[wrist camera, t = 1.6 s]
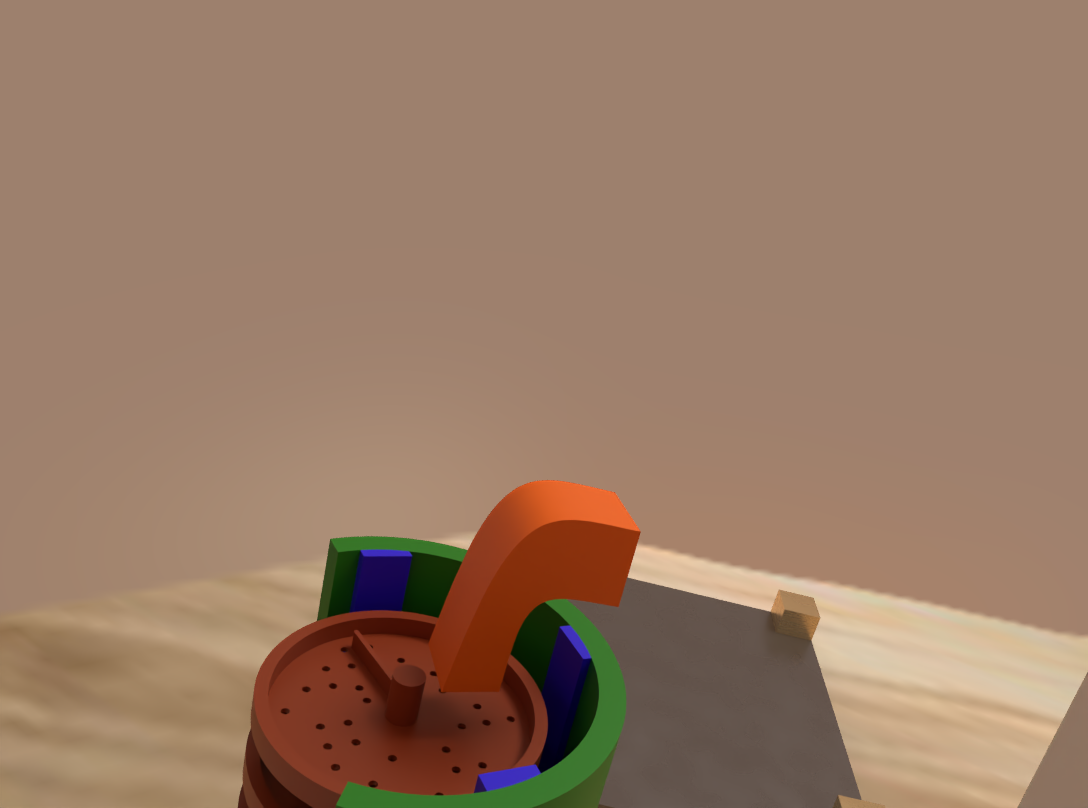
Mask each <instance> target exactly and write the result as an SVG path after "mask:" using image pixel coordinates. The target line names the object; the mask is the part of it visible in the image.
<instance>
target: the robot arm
mask: <svg viewBox="0 0 1088 808" xmlns="http://www.w3.org/2000/svg"><path fill="white" fill-rule="evenodd" d="M1018 808H1088V672H1087V674H1086V676H1085V678H1084V680H1083V682H1082V684H1081V686H1080V688H1079V690H1078V692H1077V694H1076V696H1075V697H1074V699H1073V701H1072V703H1071V705H1070V707H1069V709H1068V711H1067V713H1066V715H1065V717H1064V719H1063V721H1062V723H1061V724H1060V726H1059V728H1058V730H1057V732H1056V734H1055V736H1054V738H1053V740H1052V742H1051V744H1050V746H1049V748H1048V750H1047V752H1046V753H1045V755H1044V757H1043V759H1042V761H1041V763H1040V765H1039V767H1038V769H1037V771H1036V773H1035V775H1034V777H1033V779H1032V780H1031V782H1030V784H1029V786H1028V788H1027V790H1026V792H1025V794H1024V796H1023V798H1022V800H1021V802H1020V804H1019V806H1018Z"/></svg>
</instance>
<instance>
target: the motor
mask: <svg viewBox="0 0 1088 808" xmlns="http://www.w3.org/2000/svg"><path fill="white" fill-rule="evenodd" d="M639 536H640V530H639V528H638V527H637V525H636V524H635V522H634V521H633V519H632V518H631V516H630V515H629V513H628V512H627V511H626V509H625V507H624V506H623V504H622V503H621V501H620V500H619V498H618V497H617V495H616V494H615V492H611V491H606V490H602V489H598V488H593V487H589V486H584V485H580V484H575V483H570V482H564V481H554V480H542V481H534V482H530V483H527V484H524V485H522V486H520V487H518V488H516V489H515V490H513V491H512V492H510V493H509V494H508V495H507V496H505V497H504V498H503V499H502V500H501V501H500V502H499V503H498V504H497V506H496V507H495V508H494V509H493V510H492V511H491V513H490V514H489V516H488V517H487V518H486V520H485V521H484V523H483V524H482V526H481V528H480V529H479V531H478V532H477V534H476V536H475V538H474V539H473V541H472V543H471V545H470V547H469V549H468V550H465V549H461V548H457V547H453V546H449V545H445V544H440V543H435V542H429V541H423V540H416V539H407V538H395V537H373V536H371V537H369V536H367V537H344V538H335V539H330V544H329V550H328V556H327V563H326V569H325V575H324V581H323V587H322V593H321V599H320V606H319V612H318V618H317V621H316V622H314V623H311V624H309V625H307V626H305V627H303V628H301V629H299V630H297V631H296V632H294V633H292V634H291V635H289V636H288V637H286V638H285V639H284V640H283V641H281V642H280V643H279V644H278V645H277V646H276V647H275V648H274V649H273V650H272V651H271V652H270V654H269V655H268V656H267V658H266V659H265V661H264V662H263V664H262V666H261V668H260V670H259V672H258V675H257V678H256V682H255V688H254V695H253V702H252V709H251V729H250V732H249V735H248V740H247V745H246V752H245V759H244V767H243V785H242V788H241V792H240V796H239V802H238V808H598V805H599V801H600V798H601V795H602V792H603V789H604V785H605V782H606V779H607V776H608V773H609V769H610V766H611V763H612V760H613V757H614V753H615V750H616V747H617V744H618V741H619V737H620V734H621V731H622V727H623V724H624V720H625V714H626V690H625V683H624V679H623V675H622V672H621V669H620V667H619V664H618V662H617V659H616V657H615V655H614V653H613V652H612V650H611V648H610V646H609V645H608V643H607V642H606V640H605V639H604V637H603V636H602V635H601V633H600V632H599V631H598V629H597V628H596V627H595V626H594V625H593V624H592V622H591V621H590V620H589V619H588V618H587V617H586V616H585V615H584V614H583V613H582V612H581V611H580V610H579V609H577V608H576V607H575V606H574V605H573V604H572V603H570V602H569V601H568V600H567V599H571V600H579V601H586V602H592V603H598V604H603V605H609V606H615V607H619V604H620V600H621V597H622V594H623V590H624V587H625V583H626V580H627V577H628V573H629V570H630V566H631V563H632V560H633V556H634V553H635V549H636V546H637V543H638V539H639Z"/></svg>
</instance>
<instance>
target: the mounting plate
mask: <svg viewBox="0 0 1088 808" xmlns="http://www.w3.org/2000/svg"><path fill="white" fill-rule="evenodd" d="M567 600H568V601H569V602H570V603H572V604H573V605H574V606H575V607H576V608H577V609H579V610H580V611H581V612H582V613H583V614H584V615H585V616H586V617H587V618H588V619H589V620H590V621H591V622H592V624H593V625H594V626H595V627H596V628H597V629H598V631H599V632H600V633H601V635H602V636H603V637H604V639H605V640H606V642H607V643H608V645H609V646H610V648H611V650H612V652H613V653H614V655H615V657H616V659H617V662H618V664H619V667H620V669H621V672H622V675H623V679H624V683H625V690H626V714H625V720H624V724H623V727H622V731H621V734H620V737H619V741H618V744H617V747H616V750H615V753H614V757H613V760H612V763H611V766H610V769H609V773H608V776H607V779H606V782H605V785H604V789H603V792H602V795H601V798H600V801H599V805H598V808H885V806H884V805H880V804H876V803H871V802H867V801H863V800H861V796H860V793H859V790H858V787H857V784H856V781H855V777H854V774H853V771H852V768H851V765H850V762H849V758H848V755H847V752H846V749H845V746H844V743H843V739H842V736H841V733H840V730H839V727H838V724H837V720H836V717H835V714H834V711H833V708H832V705H831V701H830V698H829V695H828V692H827V689H826V686H825V682H824V679H823V676H822V673H821V670H820V667H819V663H818V660H817V657H816V654H815V651H814V648H813V645H812V641H811V640H812V637H813V635H814V632H815V630H816V627H817V625H818V622H819V620H820V616H819V613H818V610H817V607H816V604H815V601H814V598H812V597H807V596H803V595H799V594H795V593H791V592H786V591H782V590H779V591H778V594H777V596H776V599H775V602H774V604H773V607H772V610H771V612H769V611H765V610H760V609H756V608H752V607H748V606H744V605H739V604H735V603H731V602H727V601H723V600H718V599H714V598H710V597H706V596H702V595H698V594H693V593H689V592H685V591H681V590H677V589H672V588H668V587H664V586H660V585H656V584H652V583H647V582H643V581H639V580H635V579H631V578H627V580H626V583H625V587H624V590H623V594H622V597H621V600H620V604H619V607H615V606H609V605H603V604H598V603H592V602H586V601H579V600H571V599H567Z"/></svg>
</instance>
